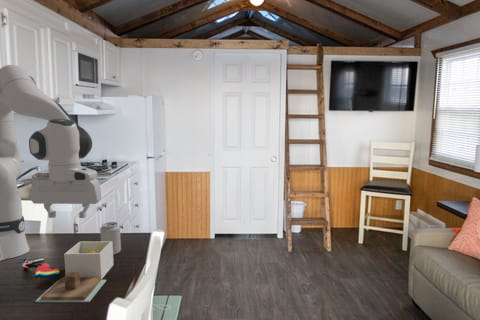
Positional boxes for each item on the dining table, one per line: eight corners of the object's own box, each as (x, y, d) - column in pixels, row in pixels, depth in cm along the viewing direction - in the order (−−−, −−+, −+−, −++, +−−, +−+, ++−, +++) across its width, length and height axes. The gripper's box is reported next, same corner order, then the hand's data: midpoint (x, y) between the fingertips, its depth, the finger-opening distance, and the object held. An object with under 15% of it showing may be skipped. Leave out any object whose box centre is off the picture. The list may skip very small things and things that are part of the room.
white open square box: (65, 279, 124) (64, 254, 123) (81, 264, 136) (79, 241, 135) (101, 279, 124) (100, 253, 123) (113, 264, 136) (112, 241, 135)
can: (124, 249, 151) (122, 221, 150) (116, 256, 144) (114, 227, 142) (106, 249, 152) (105, 220, 150) (97, 256, 144) (96, 226, 143)
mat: (35, 302, 109) (35, 301, 109) (58, 280, 123) (58, 279, 123) (89, 302, 109) (89, 300, 109) (106, 280, 123) (106, 279, 123)
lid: (41, 300, 110) (40, 284, 109) (62, 280, 123) (61, 266, 122) (84, 299, 110) (83, 283, 109) (101, 280, 123) (100, 265, 122)
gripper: (24, 174, 108) (28, 220, 110) (94, 174, 108) (96, 220, 110) (36, 171, 114) (39, 214, 116) (102, 171, 114) (104, 214, 116)
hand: (67, 217), depth 113 cm, fingers open, 8 cm apart
